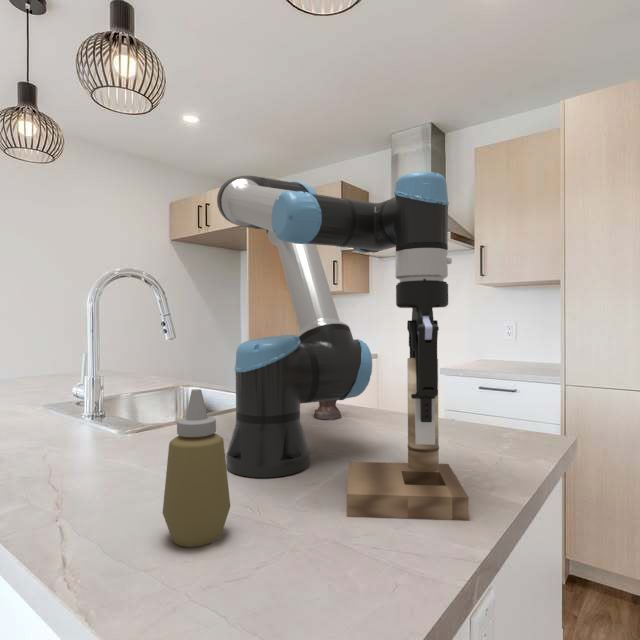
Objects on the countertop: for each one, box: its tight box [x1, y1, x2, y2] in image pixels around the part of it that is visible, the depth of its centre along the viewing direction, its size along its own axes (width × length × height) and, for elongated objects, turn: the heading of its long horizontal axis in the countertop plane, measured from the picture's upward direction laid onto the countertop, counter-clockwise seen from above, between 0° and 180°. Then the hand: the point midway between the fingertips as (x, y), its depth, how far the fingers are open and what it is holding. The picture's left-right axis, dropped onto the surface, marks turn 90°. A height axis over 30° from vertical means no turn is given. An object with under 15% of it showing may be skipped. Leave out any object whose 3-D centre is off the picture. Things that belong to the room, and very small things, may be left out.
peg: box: [406, 357, 440, 472], centre depth 68 cm, size 4×4×16 cm
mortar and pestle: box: [313, 400, 342, 421], centre depth 125 cm, size 12×9×20 cm
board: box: [346, 461, 470, 521], centre depth 68 cm, size 16×14×3 cm
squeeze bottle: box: [162, 388, 231, 548], centre depth 56 cm, size 8×8×18 cm
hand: (422, 438), depth 68 cm, fingers closed on peg, 4 cm apart
